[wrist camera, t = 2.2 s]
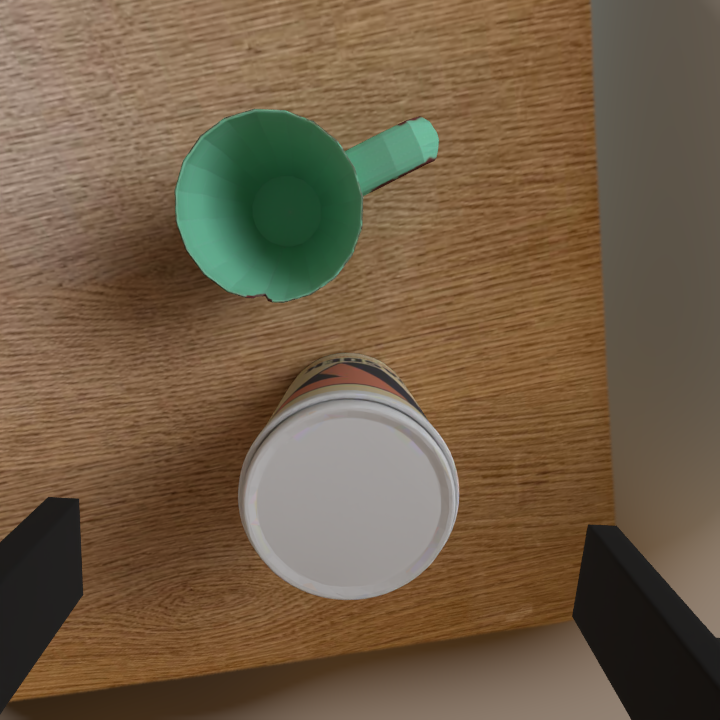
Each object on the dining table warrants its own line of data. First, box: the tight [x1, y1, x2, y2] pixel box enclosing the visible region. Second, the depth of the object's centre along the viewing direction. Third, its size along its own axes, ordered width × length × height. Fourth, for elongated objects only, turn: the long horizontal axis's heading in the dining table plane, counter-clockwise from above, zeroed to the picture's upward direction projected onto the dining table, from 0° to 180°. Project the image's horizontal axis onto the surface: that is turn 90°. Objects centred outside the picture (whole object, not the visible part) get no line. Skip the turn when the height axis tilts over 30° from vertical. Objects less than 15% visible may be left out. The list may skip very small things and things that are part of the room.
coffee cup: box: [238, 353, 459, 600], centre depth 30 cm, size 9×9×12 cm
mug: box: [175, 109, 439, 303], centre depth 29 cm, size 12×8×8 cm, turn 115°
